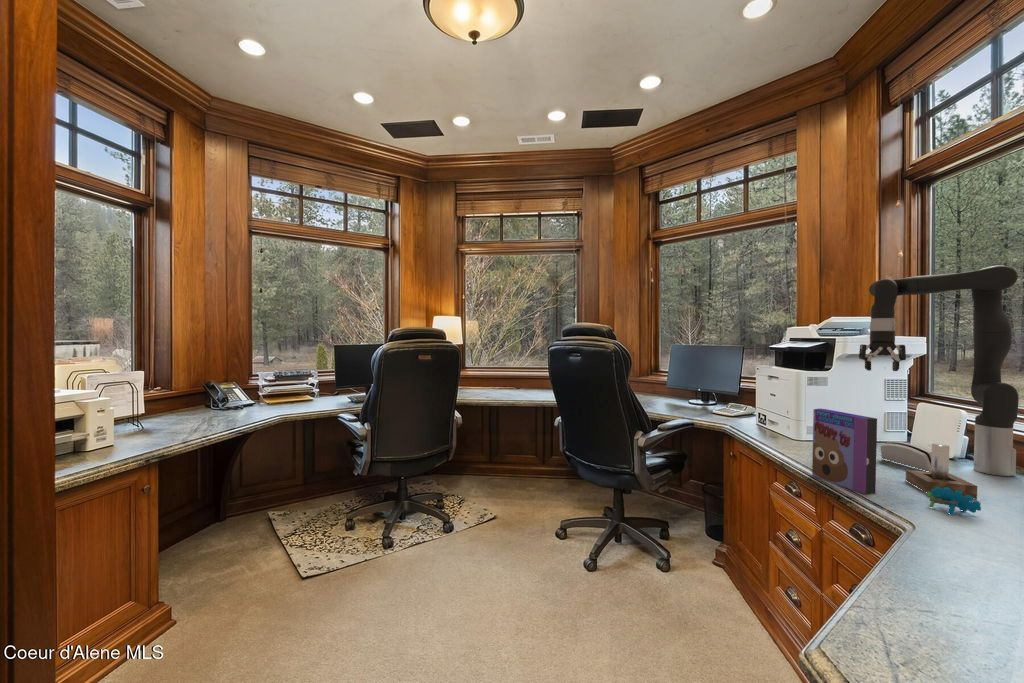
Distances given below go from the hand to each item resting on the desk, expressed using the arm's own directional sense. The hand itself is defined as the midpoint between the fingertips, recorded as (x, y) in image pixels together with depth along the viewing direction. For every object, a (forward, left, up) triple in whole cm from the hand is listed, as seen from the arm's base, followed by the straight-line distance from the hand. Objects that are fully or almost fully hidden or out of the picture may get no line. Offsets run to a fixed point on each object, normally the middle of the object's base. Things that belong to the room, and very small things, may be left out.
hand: (881, 370), depth 167 cm
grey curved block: (-7, +5, -36) cm, 37 cm away
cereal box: (+26, +36, -36) cm, 57 cm away
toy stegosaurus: (+6, +52, -36) cm, 64 cm away
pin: (-2, +32, -35) cm, 48 cm away
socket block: (-2, +32, -36) cm, 48 cm away
